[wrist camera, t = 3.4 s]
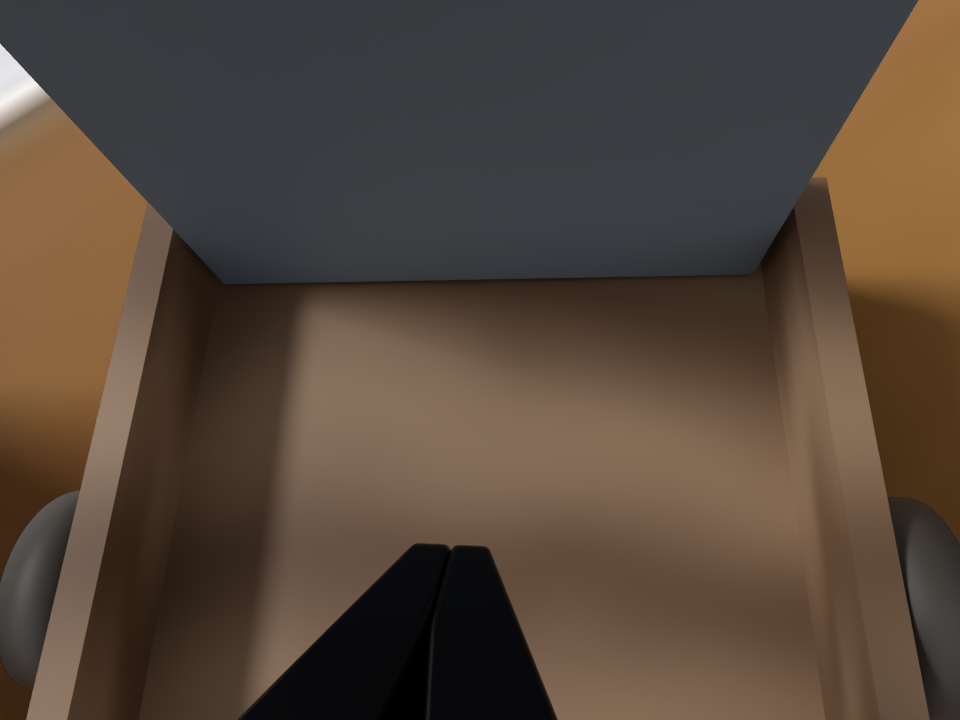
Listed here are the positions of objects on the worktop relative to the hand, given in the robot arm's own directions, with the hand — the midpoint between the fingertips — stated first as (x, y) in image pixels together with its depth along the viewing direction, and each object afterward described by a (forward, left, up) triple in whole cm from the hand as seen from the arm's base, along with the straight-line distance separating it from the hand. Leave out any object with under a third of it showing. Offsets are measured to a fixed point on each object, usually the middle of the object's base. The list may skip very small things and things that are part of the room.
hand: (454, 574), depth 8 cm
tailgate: (+9, +1, -8) cm, 12 cm away
